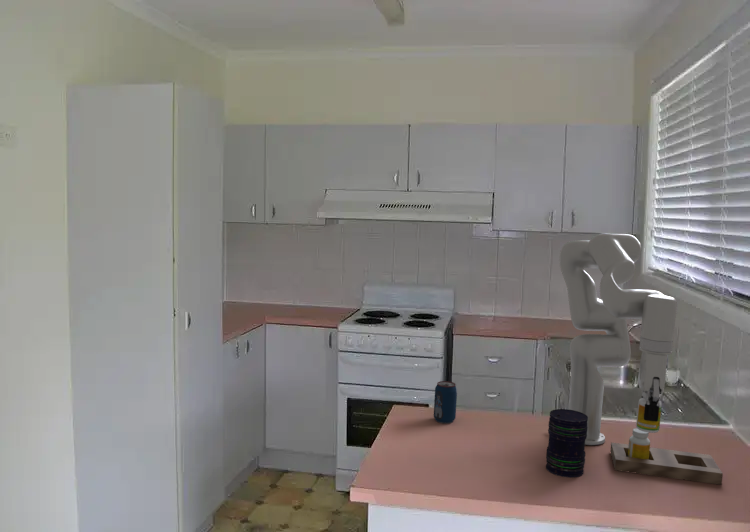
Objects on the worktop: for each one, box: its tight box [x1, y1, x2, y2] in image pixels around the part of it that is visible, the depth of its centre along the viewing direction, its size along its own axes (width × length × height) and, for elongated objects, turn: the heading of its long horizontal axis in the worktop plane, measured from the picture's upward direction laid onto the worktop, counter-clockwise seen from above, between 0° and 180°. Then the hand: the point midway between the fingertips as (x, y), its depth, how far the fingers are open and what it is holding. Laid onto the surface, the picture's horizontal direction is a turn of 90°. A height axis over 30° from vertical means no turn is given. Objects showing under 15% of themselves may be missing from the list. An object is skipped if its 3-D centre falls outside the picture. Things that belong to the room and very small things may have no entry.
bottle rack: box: [609, 442, 724, 486], centre depth 180 cm, size 26×13×3 cm, turn 76°
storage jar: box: [545, 408, 588, 479], centre depth 175 cm, size 10×10×15 cm
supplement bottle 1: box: [635, 390, 662, 434], centre depth 166 cm, size 5×5×10 cm
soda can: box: [433, 380, 458, 425], centre depth 210 cm, size 7×7×12 cm
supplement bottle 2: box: [628, 427, 651, 460], centre depth 182 cm, size 5×5×10 cm
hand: (648, 415), depth 166 cm, fingers closed on supplement bottle 1, 5 cm apart
